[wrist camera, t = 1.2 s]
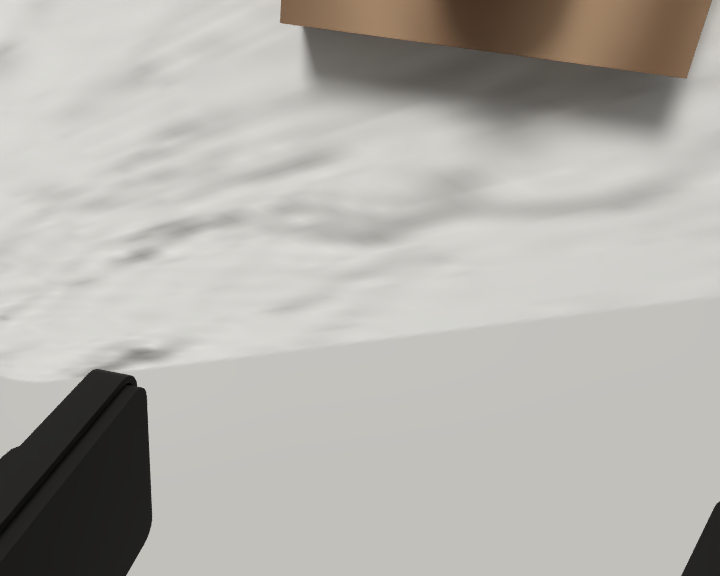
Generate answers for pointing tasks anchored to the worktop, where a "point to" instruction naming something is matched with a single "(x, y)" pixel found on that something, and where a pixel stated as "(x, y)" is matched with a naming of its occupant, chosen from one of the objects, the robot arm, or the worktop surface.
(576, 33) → the board
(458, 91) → the worktop surface
